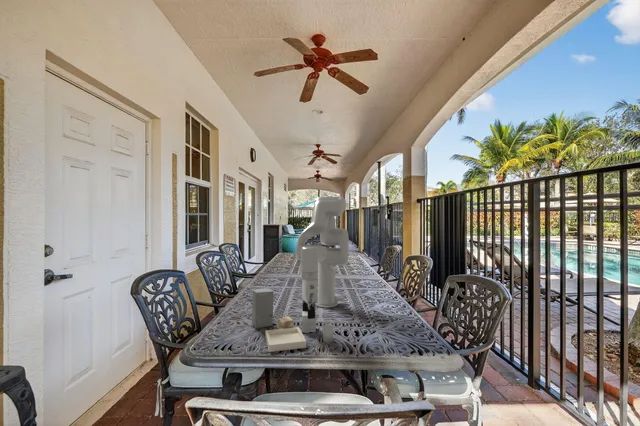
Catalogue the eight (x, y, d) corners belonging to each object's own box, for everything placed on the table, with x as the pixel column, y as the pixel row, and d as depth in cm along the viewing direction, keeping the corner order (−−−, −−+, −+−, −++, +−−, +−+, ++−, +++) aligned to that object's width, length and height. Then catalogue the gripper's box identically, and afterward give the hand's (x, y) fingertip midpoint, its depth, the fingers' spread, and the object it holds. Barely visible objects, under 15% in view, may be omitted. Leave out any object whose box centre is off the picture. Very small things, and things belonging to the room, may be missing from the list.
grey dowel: (331, 337, 121) (331, 323, 121) (334, 341, 118) (334, 326, 118) (321, 338, 120) (321, 324, 120) (324, 343, 116) (324, 327, 116)
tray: (298, 332, 126) (298, 327, 126) (306, 347, 112) (306, 341, 112) (265, 336, 122) (265, 330, 122) (269, 352, 108) (269, 345, 108)
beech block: (288, 327, 132) (288, 316, 132) (293, 331, 127) (293, 320, 127) (277, 329, 129) (277, 318, 129) (282, 333, 125) (282, 322, 125)
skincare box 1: (255, 329, 129) (255, 293, 129) (251, 323, 136) (251, 289, 136) (273, 325, 133) (274, 290, 133) (269, 320, 140) (269, 287, 139)
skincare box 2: (301, 327, 132) (301, 311, 132) (315, 327, 132) (315, 310, 132) (301, 333, 126) (302, 315, 126) (316, 332, 126) (316, 315, 126)
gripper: (323, 278, 121) (322, 320, 121) (312, 271, 138) (311, 308, 138) (305, 279, 119) (304, 322, 119) (296, 272, 136) (296, 309, 136)
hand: (308, 314), depth 128 cm, fingers open, 9 cm apart
